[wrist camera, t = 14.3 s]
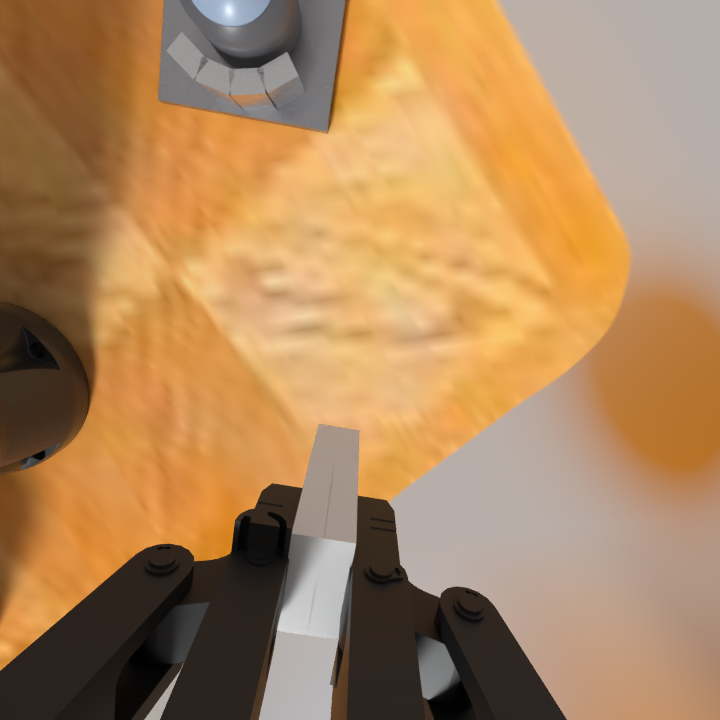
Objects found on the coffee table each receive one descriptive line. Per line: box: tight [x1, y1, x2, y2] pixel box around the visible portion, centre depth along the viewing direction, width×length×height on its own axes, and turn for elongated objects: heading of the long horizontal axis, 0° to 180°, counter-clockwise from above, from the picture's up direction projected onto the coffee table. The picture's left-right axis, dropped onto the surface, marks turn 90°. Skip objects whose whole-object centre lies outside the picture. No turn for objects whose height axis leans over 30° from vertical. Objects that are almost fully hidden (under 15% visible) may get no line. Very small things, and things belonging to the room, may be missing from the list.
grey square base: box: [158, 0, 346, 133], centre depth 33 cm, size 13×13×5 cm
